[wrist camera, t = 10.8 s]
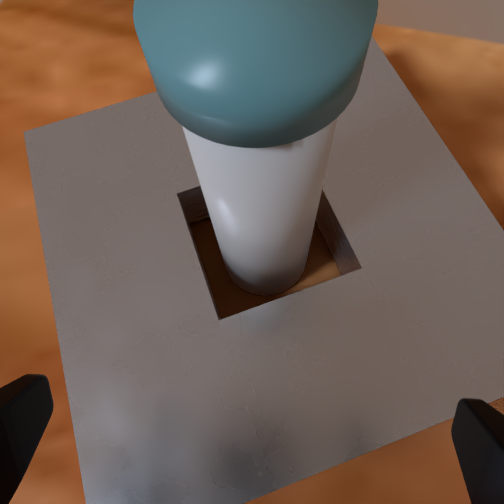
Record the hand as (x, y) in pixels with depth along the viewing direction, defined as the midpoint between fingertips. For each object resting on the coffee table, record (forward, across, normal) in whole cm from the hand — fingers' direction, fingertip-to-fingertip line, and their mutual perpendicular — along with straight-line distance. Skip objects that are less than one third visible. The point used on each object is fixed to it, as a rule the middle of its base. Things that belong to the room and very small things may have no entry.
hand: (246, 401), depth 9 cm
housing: (+11, 0, +1) cm, 11 cm away
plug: (+11, 0, +1) cm, 11 cm away
